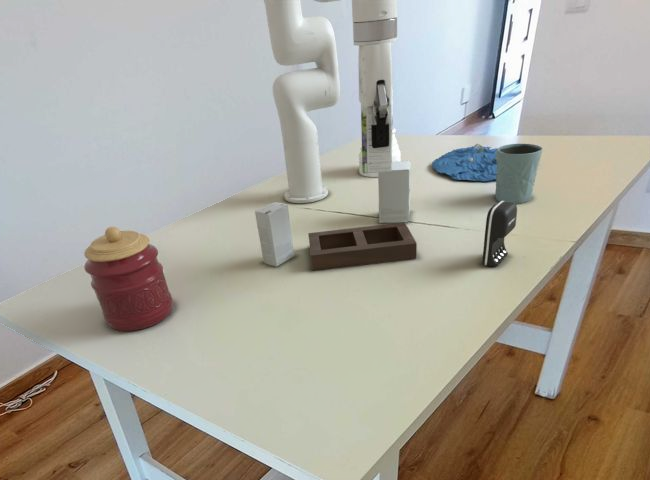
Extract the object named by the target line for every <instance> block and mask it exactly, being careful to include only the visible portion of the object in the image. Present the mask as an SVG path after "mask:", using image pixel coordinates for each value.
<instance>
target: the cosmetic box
mask: <svg viewBox="0 0 650 480" xmlns="http://www.w3.org/2000/svg"><path fill="white" fill-rule="evenodd" d="M254 215H255V220H256V227H257V230H258V231H257V232H258V237H259V238H258V239H259V243H260V249H261V256H262V262H263V263H264V264H266V265H269V266H272V267H279V266H280V265H282V264H284V263H286V262H287V261H289V260H291V259H292V258H294V257H295V251H294V250H295V249H294V242H293V235H292V226H291V219H290V211H289V205H288V204H286V203H283V202H277V201H274V202H271V203H269V204H267V205H265V206H263V207H261V208H259V209H257V210H255V211H254Z"/></svg>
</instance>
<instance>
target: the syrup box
mask: <svg viewBox="0 0 650 480" xmlns="http://www.w3.org/2000/svg"><path fill="white" fill-rule="evenodd" d="M387 102H389V98H387ZM393 102H394V85H392V103H391V105H390V106H388V117H389V146H388V147H381V148H373V147H372V134H371V125H373V119H372V106H369V108H368V109H366V108H364V107H363V92H361V103H360V127H361V128H360V129H361V130H360V131H361V147H362V172H363V173H380V172H391V171H392V134H393V128H394V125H393V124H394V123H393V121H394V119H393V118H394V117H393V114H394V113H393V110H394V109H393V108H394V107H393V106H394V103H393ZM378 105H379V103H374V106H378ZM388 105H389V104H388ZM378 111H379V110H378ZM376 113H377V111H376Z"/></svg>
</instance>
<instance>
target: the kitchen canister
mask: <svg viewBox="0 0 650 480" xmlns="http://www.w3.org/2000/svg"><path fill="white" fill-rule="evenodd" d="M150 242H151V240H150V238H149V236H147V235H146V234H143V233H139V232H138V231H134V230H120V229H119V228H118V227H116V226H109V227H107V228H106V229H105V231H104V235H101V236H99V237H97V238H95V239H94V240H93V241H92V242H91V243H90V245H89V246H88V247H87V248H85V250H84V252H83V254H84V255H83V256H84V258H85V259H87V260H86V261H85V262H84V266H83V269H84V271H85V272H86V274H88V275H90V278H91V281H90V287H91V288H92V290H93V291H94V294H95V297H96V299H97V301H98V303H99V305H100V308H101V311H102V316H103V318H104V321H106V323H107V324H108V327H110V328H112V329H113V330H117V331H121V332H133V331H139V330H143V329H147V328H149V327H153V326H155V325H157V324H159V323H160V322H162V321H164V320H165V319H166V318H168V317H169V315H171V313H172V311H173V308H174V305H173V297H172V293H171V291H170V290H169V287H168V283H167V280H166V276H165V273H164V266H163V264H162V263H161V262H159V260H158V254H159V249H158V248H157V247H156V246H155V245H153V244H150Z"/></svg>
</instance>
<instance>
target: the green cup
mask: <svg viewBox="0 0 650 480" xmlns="http://www.w3.org/2000/svg"><path fill="white" fill-rule="evenodd" d="M542 153H543V147H542V146H540V145H537V144H533V143H532V144H531V143H509V144H505V145H501V146H499V147H498V148H497V172H496V175H497V176H496V179H495V191H494V193H495V194H494V198H495V200H496V201H497V202H499V201H505V202H512V203H514V204H516V205H517V204H518V205H519V204H524V203H527V202H529V201H530V200H531V199H532V196H533V191H534V186H535V182H536V178H537V175H538V169H539V165H540V161H541V157H542Z"/></svg>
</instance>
